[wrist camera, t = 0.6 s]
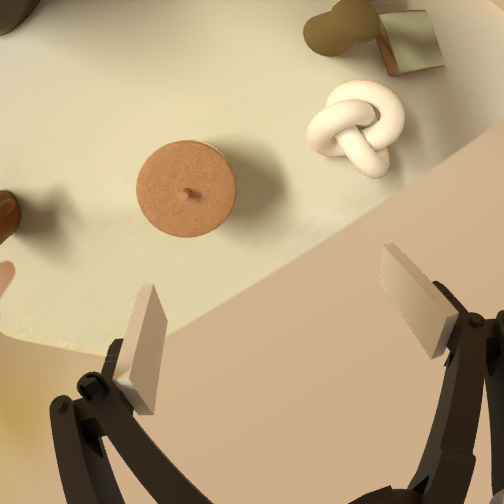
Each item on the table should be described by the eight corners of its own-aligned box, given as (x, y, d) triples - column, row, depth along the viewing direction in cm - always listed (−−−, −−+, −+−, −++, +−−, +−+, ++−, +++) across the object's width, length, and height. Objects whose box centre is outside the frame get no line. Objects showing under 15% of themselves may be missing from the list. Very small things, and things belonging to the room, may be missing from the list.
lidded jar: (244, 147, 37) (252, 161, 28) (219, 222, 41) (219, 255, 33) (162, 124, 34) (145, 132, 26) (143, 202, 39) (124, 230, 30)
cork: (323, 64, 32) (359, 54, 22) (293, 28, 29) (320, 5, 20) (356, 43, 31) (399, 30, 21) (328, 8, 28) (364, -17, 18)
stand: (366, 17, 29) (376, 12, 26) (415, 12, 28) (426, 9, 25) (388, 75, 33) (400, 75, 30) (434, 66, 32) (446, 66, 29)
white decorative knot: (320, 63, 32) (347, 55, 24) (394, 102, 35) (433, 108, 27) (289, 141, 37) (309, 153, 29) (366, 172, 40) (398, 192, 32)
